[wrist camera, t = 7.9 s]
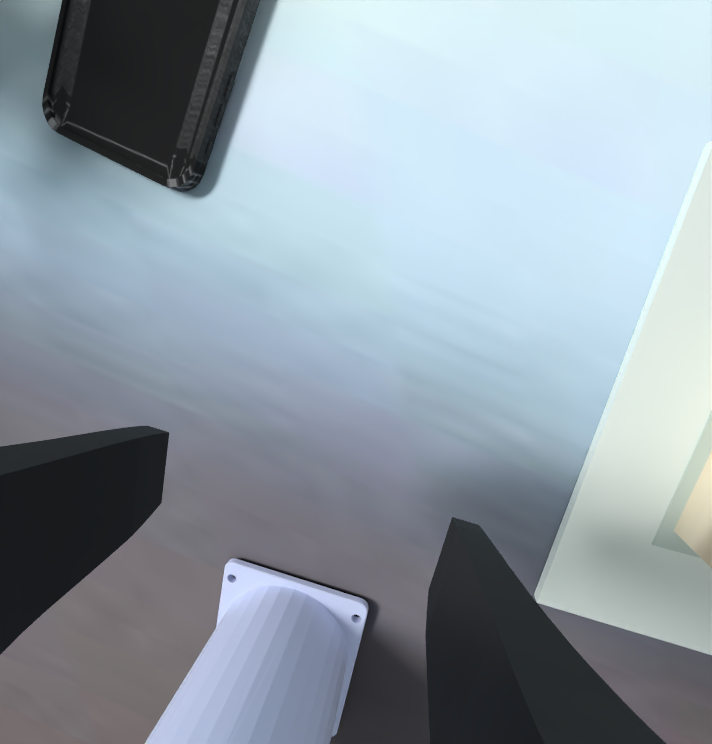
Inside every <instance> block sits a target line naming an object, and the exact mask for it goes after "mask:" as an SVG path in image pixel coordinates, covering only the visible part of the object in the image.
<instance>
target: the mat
mask: <svg viewBox="0 0 712 744" xmlns="http://www.w3.org/2000/svg"><path fill="white" fill-rule="evenodd" d="M711 451H712V141H711V142H709V143H707V144H705V146H704V149H703V152H702V154H701V157H700V159H699V162H698V165H697V167H696V170H695V173H694V175H693V178H692V180H691V183H690V186H689V188H688V191H687V194H686V196H685V199H684V201H683V204H682V207H681V209H680V212H679V215H678V217H677V220H676V222H675V225H674V228H673V230H672V233H671V236H670V238H669V241H668V243H667V246H666V249H665V251H664V254H663V257H662V259H661V262H660V264H659V267H658V270H657V272H656V275H655V278H654V280H653V283H652V286H651V288H650V291H649V293H648V296H647V299H646V301H645V304H644V307H643V309H642V312H641V314H640V317H639V320H638V322H637V325H636V328H635V330H634V333H633V335H632V338H631V341H630V343H629V346H628V349H627V351H626V354H625V356H624V359H623V362H622V364H621V367H620V370H619V372H618V375H617V377H616V380H615V383H614V385H613V388H612V391H611V393H610V396H609V398H608V401H607V404H606V406H605V409H604V412H603V414H602V417H601V420H600V422H599V425H598V427H597V430H596V433H595V435H594V438H593V441H592V443H591V446H590V448H589V451H588V454H587V456H586V459H585V462H584V464H583V467H582V469H581V472H580V475H579V477H578V480H577V483H576V485H575V488H574V490H573V493H572V496H571V498H570V501H569V504H568V506H567V509H566V511H565V514H564V517H563V519H562V522H561V525H560V527H559V530H558V532H557V535H556V538H555V540H554V543H553V546H552V548H551V551H550V554H549V556H548V559H547V561H546V564H545V567H544V569H543V572H542V575H541V577H540V580H539V582H538V585H537V588H536V590H535V593H534V596H535V599H536V602H537V603H540V604H543V605H546V606H550V607H553V608H556V609H560V610H563V611H566V612H570V613H573V614H576V615H580V616H583V617H586V618H590V619H593V620H596V621H600V622H603V623H606V624H610V625H613V626H616V627H619V628H623V629H626V630H629V631H633V632H636V633H639V634H643V635H646V636H649V637H653V638H656V639H659V640H663V641H666V642H669V643H673V644H676V645H679V646H683V647H686V648H689V649H693V650H696V651H699V652H703V653H706V654H709V655H712V569H711V568H710V567H709V566H708V565H707V564H706V563H705V562H704V561H703V560H702V559H701V558H700V557H699V556H698V555H697V554H696V553H695V552H694V551H693V550H692V549H691V548H690V547H689V546H688V545H687V544H686V543H685V542H684V541H683V540H682V539H681V538H680V537H679V536H678V535H677V534H676V533H675V532H674V529H675V527H676V525H677V522H678V520H679V518H680V516H681V514H682V512H683V510H684V508H685V506H686V504H687V501H688V499H689V497H690V495H691V493H692V491H693V489H694V487H695V485H696V483H697V480H698V478H699V476H700V474H701V472H702V470H703V468H704V466H705V464H706V461H707V459H708V457H709V455H710V453H711Z"/></svg>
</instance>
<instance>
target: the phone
mask: <svg viewBox="0 0 712 744" xmlns="http://www.w3.org/2000/svg"><path fill="white" fill-rule="evenodd" d="M259 2H260V0H62V5H61V10H60V15H59V20H58V24H57V29H56V34H55V39H54V44H53V49H52V54H51V59H50V64H49V69H48V73H47V78H46V83H45V88H44V93H43V102H42V106H43V112H44V115H45V118H46V120H47V122H48V124H49V125H50V126H51V128H52V129H53V130H55V131H56V132H58V133H59V134H61V135H63V136H65V137H67V138H69V139H71V140H73V141H75V142H77V143H79V144H81V145H83V146H85V147H87V148H89V149H91V150H93V151H95V152H97V153H99V154H101V155H103V156H105V157H107V158H109V159H111V160H113V161H115V162H117V163H119V164H121V165H123V166H125V167H127V168H129V169H131V170H133V171H135V172H137V173H139V174H141V175H143V176H145V177H147V178H149V179H151V180H153V181H155V182H157V183H159V184H161V185H163V186H166V187H168V188H171V189H174V190H177V191H180V192H181V191H189V190H191V189H193V188H195V187H196V186H197V185H198V184H199V183H200V181H201V179H202V177H203V175H204V172H205V169H206V165H207V162H208V159H209V156H210V153H211V150H212V147H213V144H214V141H215V138H216V135H217V131H218V128H219V125H220V122H221V119H222V116H223V113H224V110H225V107H226V104H227V101H228V98H229V95H230V92H231V88H232V85H233V82H234V79H235V76H236V73H237V70H238V66H239V63H240V60H241V57H242V54H243V51H244V48H245V45H246V42H247V39H248V36H249V32H250V29H251V26H252V23H253V20H254V17H255V14H256V11H257V8H258V5H259Z"/></svg>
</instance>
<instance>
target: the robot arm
mask: <svg viewBox="0 0 712 744" xmlns="http://www.w3.org/2000/svg"><path fill="white" fill-rule="evenodd" d="M168 438H169V432H166V431H163V430H160V429H156V428H153V427H149V426H137V427H127V428H120V429H113V430H106V431H100V432H94V433H87V434H81V435H75V436H69V437H63V438H57V439H51V440H44V441H37V442H30V443H23V444H16V445H9V446H2V447H0V654H1V653H2V652H3V651H4V650H5V649H6V648H7V647H8V646H9V645H10V644H11V643H12V642H13V641H14V640H15V639H16V638H17V637H18V636H19V635H20V634H21V633H22V632H23V631H24V630H26V629H27V628H28V627H29V626H30V625H31V624H32V623H33V622H34V621H35V620H36V619H37V618H39V617H40V616H41V615H42V614H43V613H44V612H45V611H46V610H47V609H49V608H50V607H51V606H52V605H53V604H54V603H56V602H57V601H58V600H59V599H60V598H61V597H63V596H64V595H65V594H66V593H67V592H68V591H69V590H71V589H72V588H73V587H74V586H75V585H76V584H78V583H79V582H80V581H81V580H82V579H83V578H85V577H86V576H87V575H88V574H89V573H90V572H91V571H93V570H94V569H95V568H96V567H97V566H98V565H100V564H101V563H102V562H103V561H104V560H105V559H106V558H108V557H109V556H110V555H111V554H112V553H113V552H114V551H116V550H117V549H118V548H119V547H120V546H121V545H122V544H123V543H125V542H126V541H127V540H128V539H129V538H130V537H131V536H132V535H133V534H134V533H135V532H136V531H137V530H138V529H139V528H140V527H141V526H142V524H143V523H144V522H145V521H146V520H147V519H148V518H149V517H150V515H151V514H152V513H153V512H154V511H155V510H156V509H157V507H158V506H159V505H160V504H161V501H162V492H163V483H164V474H165V465H166V456H167V447H168ZM231 574H232V575H234V576H235V577H236V578H235V577H233V576H232V575H231ZM367 614H368V603H367V602H366V601H365V600H364V599H362V598H359V597H356V596H353V595H349V594H346V593H343V592H340V591H337V590H334V589H330V588H327V587H324V586H321V585H318V584H315V583H312V582H308V581H305V580H302V579H299V578H296V577H293V576H289V575H286V574H283V573H280V572H277V571H274V570H270V569H267V568H264V567H261V566H258V565H255V564H251V563H248V562H245V561H242V560H239V559H231V560H229V561H228V563H227V564H226V566H225V570H224V577H223V584H222V591H221V598H220V605H219V612H218V620H217V627H216V629H215V631H214V632H213V634H212V636H211V637H210V639H209V640H208V642H207V644H206V645H205V647H204V649H203V650H202V652H201V653H200V655H199V657H198V658H197V660H196V661H195V663H194V665H193V666H192V668H191V670H190V671H189V673H188V674H187V676H186V678H185V679H184V681H183V683H182V684H181V686H180V687H179V689H178V691H177V692H176V694H175V695H174V697H173V699H172V700H171V702H170V704H169V705H168V707H167V708H166V710H165V712H164V713H163V715H162V716H161V718H160V720H159V721H158V723H157V725H156V726H155V728H154V729H153V731H152V733H151V734H150V736H149V737H148V739H147V741H146V742H145V744H330V741H331V737H333V736H335V735H336V733H337V730H338V727H339V723H340V719H341V715H342V711H343V707H344V703H345V699H346V695H347V692H348V688H349V684H350V680H351V676H352V672H353V668H354V664H355V660H356V657H357V653H358V649H359V645H360V641H361V637H362V633H363V629H364V625H365V622H366V618H367ZM354 615H358V616H360V617H356V616H354ZM426 659H427V682H428V703H429V724H430V744H666V743H665V742H664V741H663V740H662V739H661V738H660V737H659V736H658V735H657V734H655V733H654V732H653V731H652V730H651V729H650V728H649V727H648V726H647V725H646V724H645V723H644V722H643V721H642V720H641V719H640V718H639V717H638V716H637V715H636V714H635V713H634V712H633V711H632V710H631V709H630V708H629V707H628V706H627V705H626V704H625V703H624V702H623V701H622V700H621V698H620V697H619V696H618V695H617V694H616V693H615V692H614V691H613V690H612V689H611V688H610V687H609V686H608V685H607V684H606V683H605V681H604V680H603V679H602V678H601V677H600V676H599V675H598V674H597V673H596V672H595V671H594V670H593V669H592V668H591V667H590V666H589V664H588V663H587V662H586V661H585V660H584V659H583V658H582V657H581V655H580V654H579V653H578V652H577V651H576V650H575V649H574V648H573V646H572V645H571V644H570V643H569V642H568V641H567V639H566V638H565V637H564V636H563V635H562V633H561V632H560V631H559V630H558V629H557V627H556V626H555V625H554V624H553V623H552V621H551V620H550V619H549V618H548V617H547V615H546V614H545V613H544V612H543V610H542V609H541V608H540V607H539V605H538V604H537V603H536V601H535V600H534V599H533V598H532V596H531V595H530V594H529V592H528V591H527V590H526V589H525V587H524V586H523V584H522V583H521V582H520V580H519V579H518V578H517V576H516V575H515V574H514V572H513V571H512V570H511V568H510V567H509V566H508V564H507V563H506V561H505V560H504V559H503V557H502V556H501V554H500V553H499V552H498V550H497V549H496V547H495V546H494V545H493V543H492V542H491V540H490V539H489V538H488V536H487V535H486V534H485V532H484V531H483V530H482V528H481V527H480V526H479V525H476V524H473V523H470V522H466V521H463V520H460V519H456V518H453V517H452V520H451V523H450V526H449V529H448V532H447V535H446V538H445V541H444V544H443V548H442V551H441V554H440V557H439V560H438V563H437V566H436V569H435V572H434V575H433V578H432V581H431V584H430V588H429V593H428V606H427V621H426Z"/></svg>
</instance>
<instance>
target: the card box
mask: <svg viewBox="0 0 712 744" xmlns="http://www.w3.org/2000/svg"><path fill="white" fill-rule="evenodd" d="M674 532H675V533H676V534H677V535H678V536H679V537H680V538H681V539H682V540H683V541H684V542H685V543H686V544H687V545H688V546H689V547H690V548H691V549H692V550H693V551H694V552H695V553H696V554H697V555H698V556H699V557H700V558H701V559H702V560H703V561H704V562H705V563H706V564H707V565H708V566H709V567H710V568H711V569H712V451H711V453H710V455H709V457H708V459H707V461H706V464H705V466H704V468H703V470H702V472H701V474H700V476H699V478H698V480H697V483H696V485H695V487H694V489H693V491H692V493H691V495H690V497H689V499H688V501H687V504H686V506H685V508H684V510H683V512H682V514H681V516H680V518H679V520H678V522H677V525H676V527H675V529H674Z"/></svg>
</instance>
